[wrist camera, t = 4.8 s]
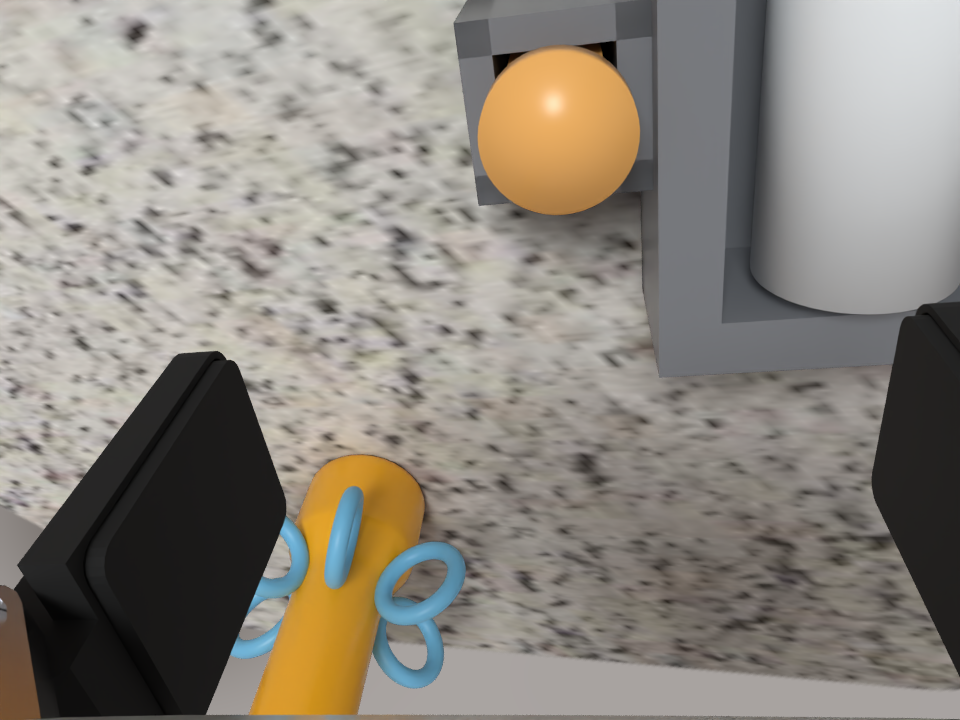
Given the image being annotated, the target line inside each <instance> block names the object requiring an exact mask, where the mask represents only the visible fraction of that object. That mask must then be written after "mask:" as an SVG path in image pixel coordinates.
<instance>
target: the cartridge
mask: <svg viewBox="0 0 960 720" xmlns="http://www.w3.org/2000/svg"><path fill="white" fill-rule="evenodd" d="M750 270H751V273H752V275H753V277H754V278H755V280H756V281H757V282H758V283H759V284H760V285H761V286H763V287H764V288H765V289H766V290H768V291H770V292H771V293H773V294H775V295H777V296H779V297H781V298H783V299H785V300H788V301H790V302H793V303H796V304H799V305H803V306H806V307H810V308H814V309H819V310H824V311H830V312H837V313H848V314H889V313H899V312H905V311H910V310H915V309H918V308H919V307H920V306H921V305H923V304H929V303H937V302H939V301H941V300H943V299H945V298H946V297H948V296H949V295H951V294H952V293H953V292H954V291H955V290H956V289H957V288H958V286H959V284H960V0H767V8H766V23H765V39H764V54H763V70H762V85H761V100H760V116H759V131H758V147H757V162H756V177H755V193H754V208H753V224H752V239H751V254H750Z"/></svg>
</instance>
